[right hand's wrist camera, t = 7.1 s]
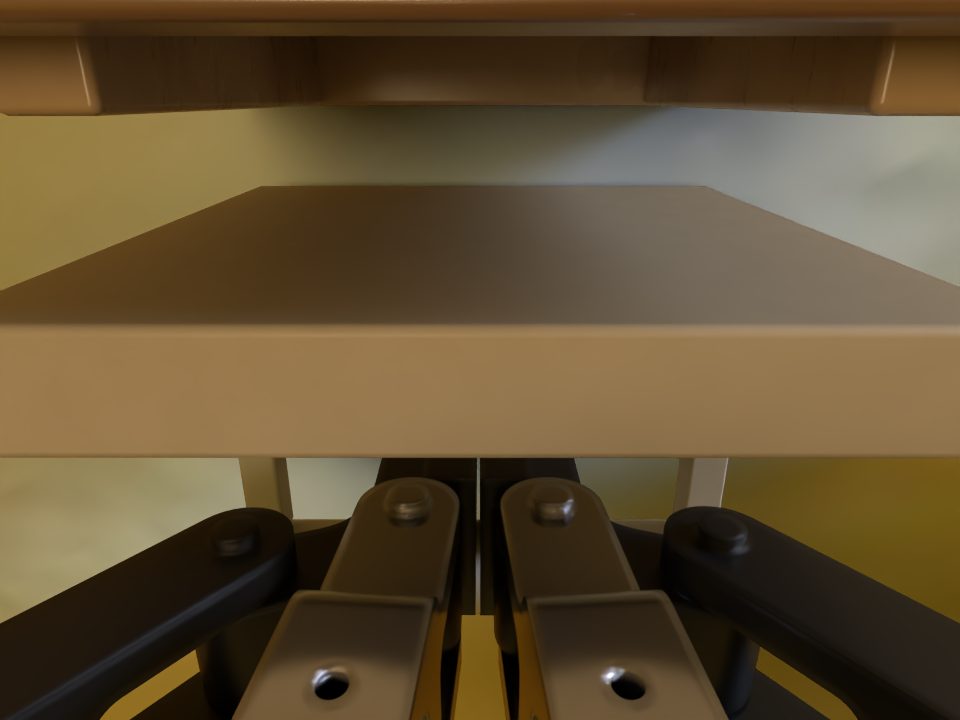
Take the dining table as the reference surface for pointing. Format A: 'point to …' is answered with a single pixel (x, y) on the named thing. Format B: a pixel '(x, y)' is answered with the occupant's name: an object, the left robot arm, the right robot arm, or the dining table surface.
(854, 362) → the drawer
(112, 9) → the cabinet
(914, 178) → the dining table surface
